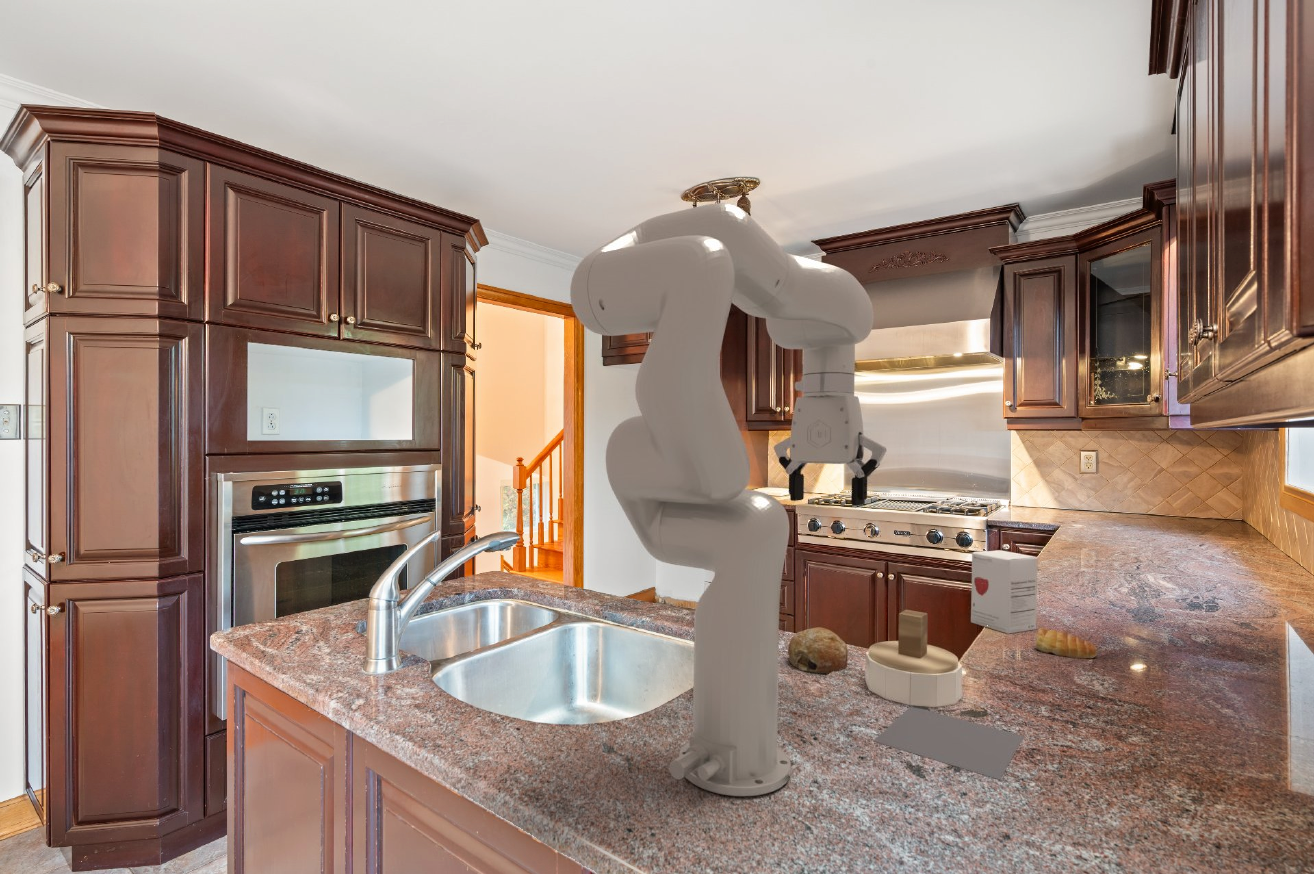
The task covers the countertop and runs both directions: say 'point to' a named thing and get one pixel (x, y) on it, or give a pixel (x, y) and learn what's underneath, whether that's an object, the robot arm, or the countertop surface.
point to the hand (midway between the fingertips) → (826, 502)
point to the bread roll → (818, 651)
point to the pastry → (1064, 644)
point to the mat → (952, 741)
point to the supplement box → (1004, 591)
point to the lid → (913, 648)
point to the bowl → (914, 685)
